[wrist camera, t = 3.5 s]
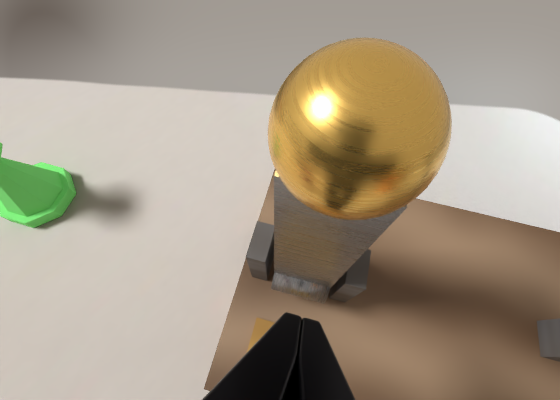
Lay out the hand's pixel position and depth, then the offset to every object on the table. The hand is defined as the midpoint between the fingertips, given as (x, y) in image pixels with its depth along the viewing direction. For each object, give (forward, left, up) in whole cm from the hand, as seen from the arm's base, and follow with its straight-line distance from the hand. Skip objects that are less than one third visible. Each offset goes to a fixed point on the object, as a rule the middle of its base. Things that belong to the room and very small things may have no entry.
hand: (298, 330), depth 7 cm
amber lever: (+3, -2, -7) cm, 8 cm away
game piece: (+12, +13, -10) cm, 20 cm away
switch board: (-1, -8, -10) cm, 12 cm away
